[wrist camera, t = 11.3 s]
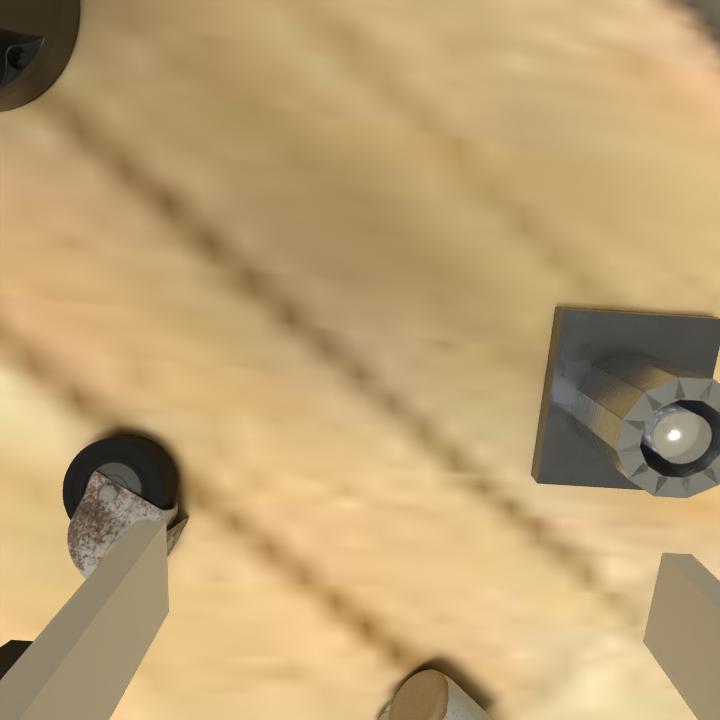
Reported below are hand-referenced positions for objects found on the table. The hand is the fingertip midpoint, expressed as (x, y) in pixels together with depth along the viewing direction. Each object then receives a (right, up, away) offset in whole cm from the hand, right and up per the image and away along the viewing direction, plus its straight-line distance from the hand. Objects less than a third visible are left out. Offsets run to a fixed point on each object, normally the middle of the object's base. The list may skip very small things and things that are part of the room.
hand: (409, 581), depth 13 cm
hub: (+19, +2, +25) cm, 32 cm away
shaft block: (+19, +3, +26) cm, 33 cm away
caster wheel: (-21, -6, +29) cm, 36 cm away
